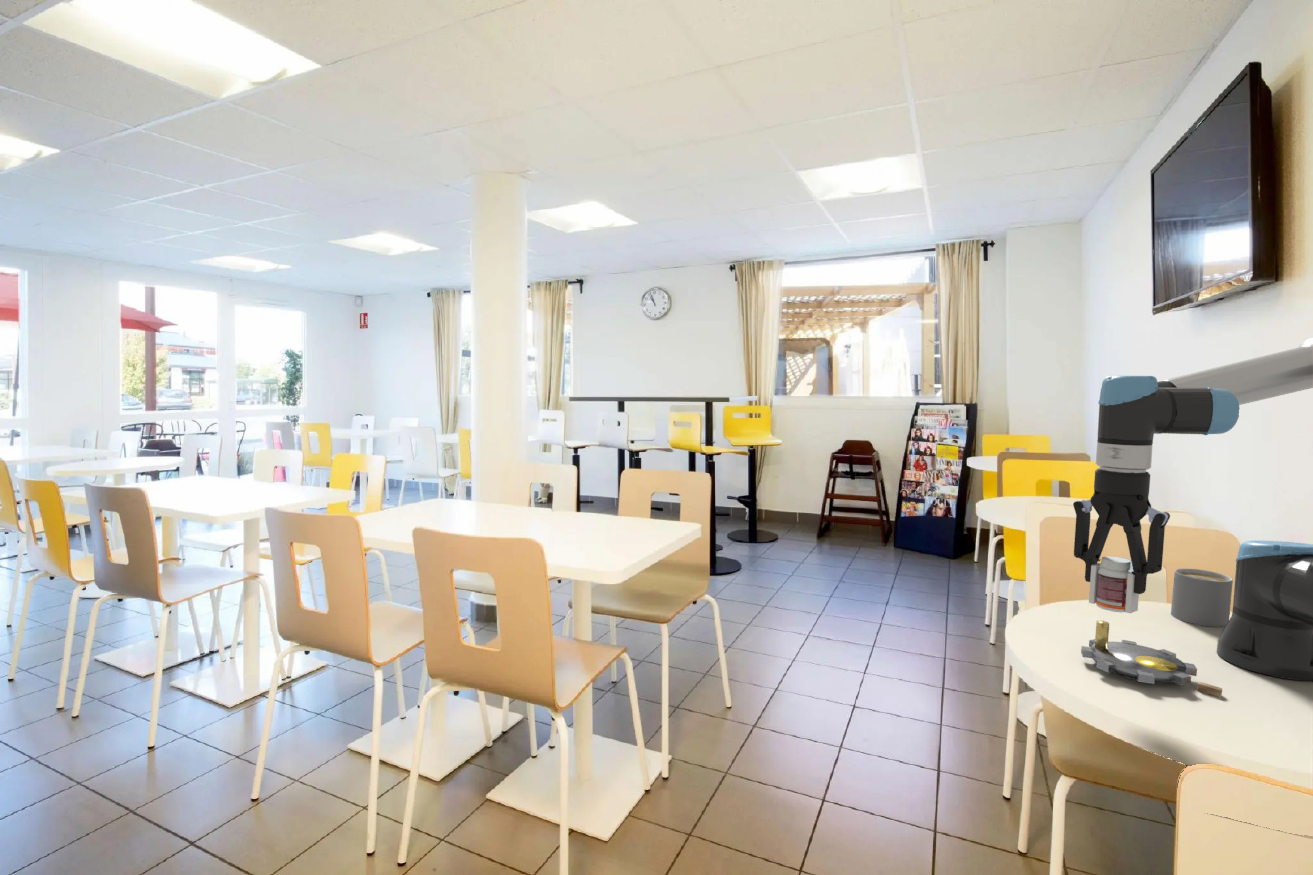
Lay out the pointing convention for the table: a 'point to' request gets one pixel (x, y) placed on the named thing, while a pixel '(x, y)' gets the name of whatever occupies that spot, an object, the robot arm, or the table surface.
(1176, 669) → the disc
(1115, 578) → the pill bottle
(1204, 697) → the table surface
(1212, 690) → the pointer
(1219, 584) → the coffee mug
